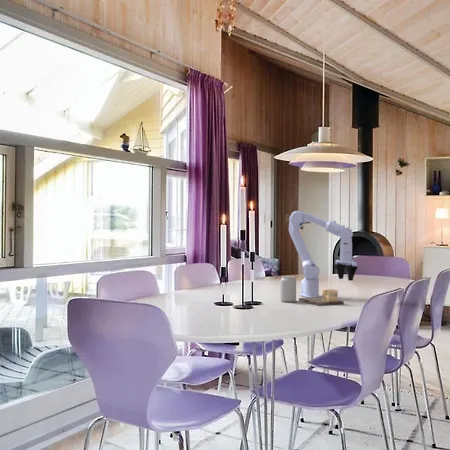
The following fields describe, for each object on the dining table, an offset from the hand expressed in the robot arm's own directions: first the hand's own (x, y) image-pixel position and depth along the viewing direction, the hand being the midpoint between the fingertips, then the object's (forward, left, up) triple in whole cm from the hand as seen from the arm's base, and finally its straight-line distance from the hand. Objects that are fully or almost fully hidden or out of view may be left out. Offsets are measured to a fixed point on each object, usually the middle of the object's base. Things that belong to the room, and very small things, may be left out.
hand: (345, 279), depth 245 cm
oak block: (+9, -16, -8) cm, 20 cm away
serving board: (+5, -18, -9) cm, 21 cm away
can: (-3, -31, -10) cm, 33 cm away
